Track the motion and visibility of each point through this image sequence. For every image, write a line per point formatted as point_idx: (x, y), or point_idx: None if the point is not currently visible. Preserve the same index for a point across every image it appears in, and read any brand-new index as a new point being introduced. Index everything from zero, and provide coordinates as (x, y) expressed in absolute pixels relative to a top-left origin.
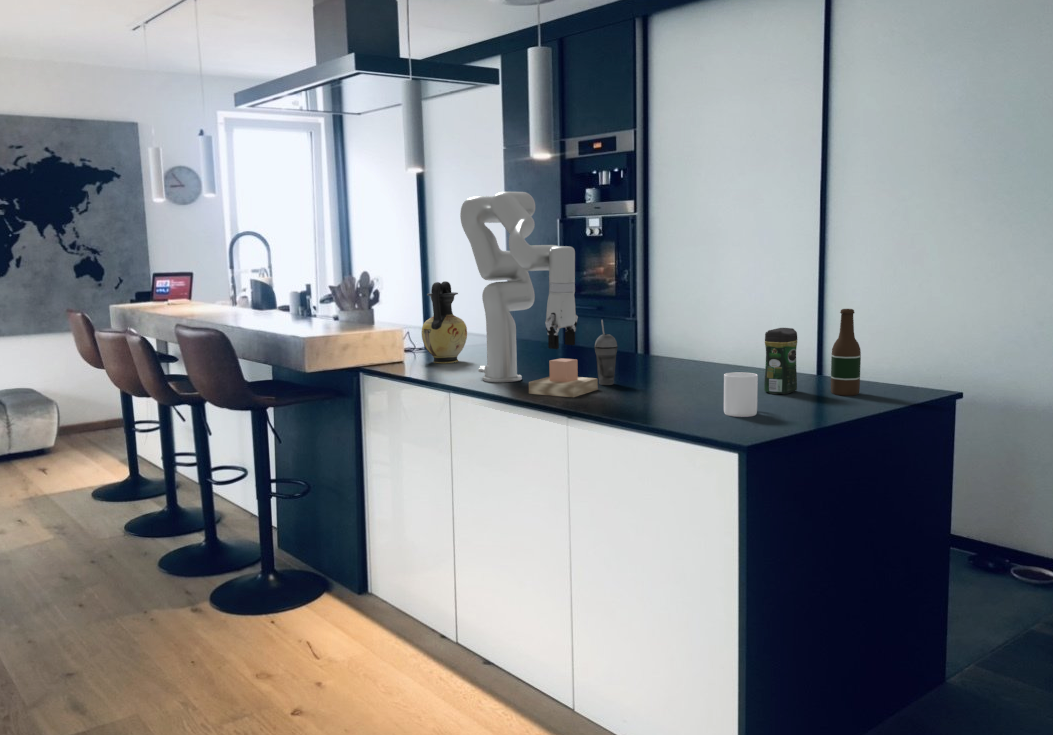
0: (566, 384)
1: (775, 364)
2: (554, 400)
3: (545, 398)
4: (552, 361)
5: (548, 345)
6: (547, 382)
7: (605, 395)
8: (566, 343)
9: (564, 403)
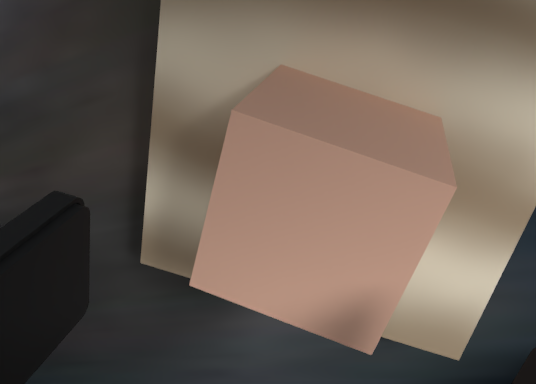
0: (156, 219)
1: None
2: (52, 154)
3: (83, 90)
4: (225, 146)
5: (33, 206)
6: (193, 74)
7: (265, 357)
8: (526, 372)
9: (8, 216)
